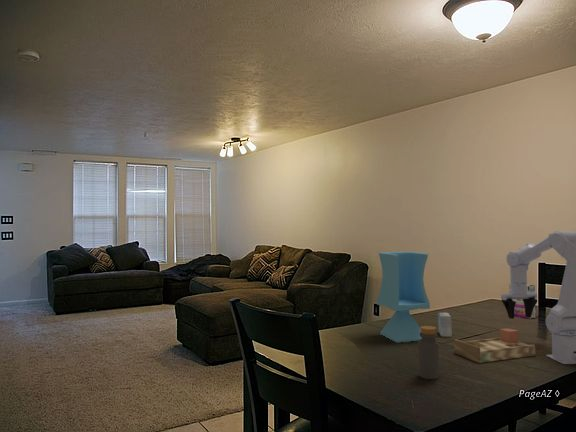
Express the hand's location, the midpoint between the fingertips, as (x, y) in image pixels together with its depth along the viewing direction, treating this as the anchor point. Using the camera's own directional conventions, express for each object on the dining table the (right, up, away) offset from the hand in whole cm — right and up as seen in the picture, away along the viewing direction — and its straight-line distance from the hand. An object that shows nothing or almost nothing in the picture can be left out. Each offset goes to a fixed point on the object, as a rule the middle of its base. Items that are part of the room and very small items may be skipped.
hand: (519, 317), depth 173 cm
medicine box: (-24, -11, +16) cm, 30 cm away
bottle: (-47, -10, -36) cm, 60 cm away
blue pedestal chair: (-42, -11, +12) cm, 45 cm away
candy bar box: (+27, -11, +50) cm, 58 cm away
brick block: (-8, -7, -7) cm, 13 cm away
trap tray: (-16, -10, -13) cm, 23 cm away
